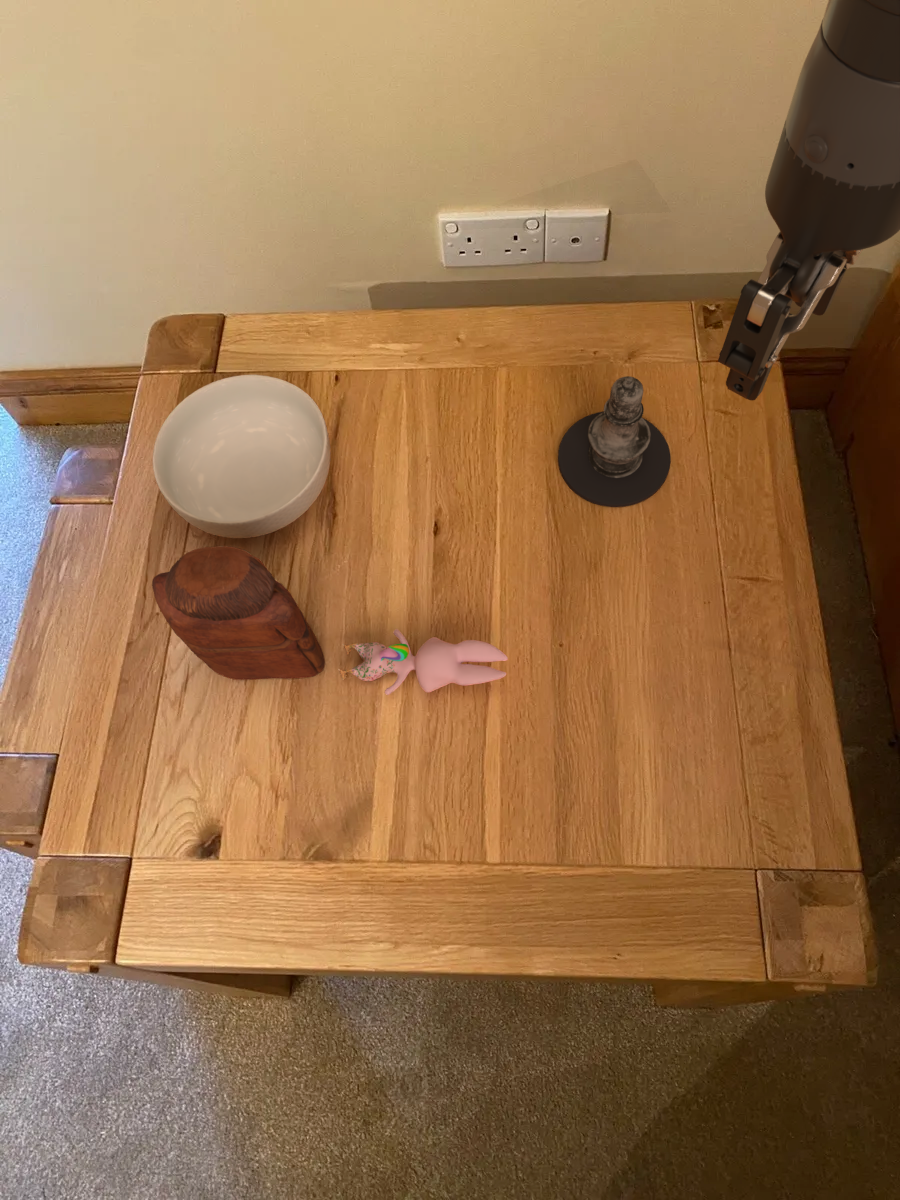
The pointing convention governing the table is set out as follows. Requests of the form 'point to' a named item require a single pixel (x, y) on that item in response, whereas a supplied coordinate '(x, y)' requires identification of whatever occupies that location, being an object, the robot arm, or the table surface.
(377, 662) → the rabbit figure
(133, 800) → the table surface
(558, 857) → the table surface
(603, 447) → the salt shaker
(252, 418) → the cereal bowl
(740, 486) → the table surface
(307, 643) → the wooden figurine
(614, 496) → the coaster
